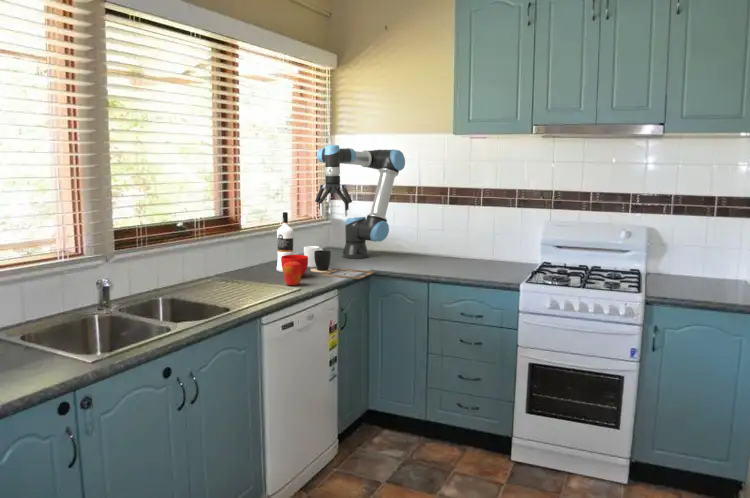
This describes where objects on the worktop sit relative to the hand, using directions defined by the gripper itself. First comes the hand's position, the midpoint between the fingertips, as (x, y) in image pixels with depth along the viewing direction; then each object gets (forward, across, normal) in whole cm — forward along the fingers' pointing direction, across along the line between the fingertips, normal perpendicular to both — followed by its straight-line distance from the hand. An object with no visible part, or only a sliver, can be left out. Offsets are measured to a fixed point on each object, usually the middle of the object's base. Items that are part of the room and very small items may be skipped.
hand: (333, 216), depth 327 cm
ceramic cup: (+26, -5, -33) cm, 42 cm away
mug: (+26, -1, -14) cm, 29 cm away
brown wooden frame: (+26, +16, -16) cm, 35 cm away
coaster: (+26, -1, -14) cm, 30 cm away
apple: (+25, +4, -51) cm, 57 cm away
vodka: (+26, -17, -23) cm, 38 cm away
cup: (+27, -11, -2) cm, 29 cm away
